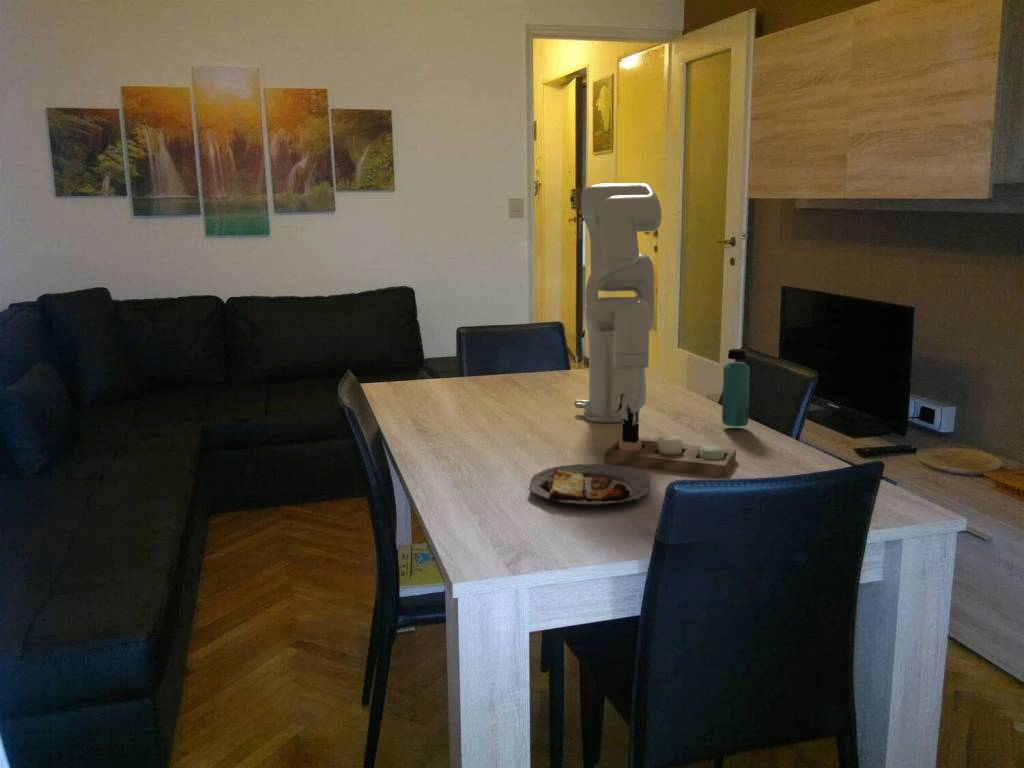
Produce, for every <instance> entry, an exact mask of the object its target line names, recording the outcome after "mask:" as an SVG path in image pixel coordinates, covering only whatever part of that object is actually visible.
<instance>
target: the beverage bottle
mask: <svg viewBox="0 0 1024 768" xmlns="http://www.w3.org/2000/svg"><path fill="white" fill-rule="evenodd" d="M727 359H729V360H745V359H746V350H745V349H741V348H731V349H729V350H728V354H727ZM722 369H723V373H722V375H723V378H722V379H723V380H722V381H723V382H722V383H723V384H722V394H721V395H722V399H721V401H722V408H721V421H722V424H723V425H725V426H729V427H745V426H747V425H748V424H749V421H750V420H749V417H750V414H749V410H750V409H749V408H750V406H749V405H750V371H751V370H750V366H749V365H748V364H747V363H745V362H742V361H741V362H740V361H730V362H728V363H726V364H725V365H724V366H723V368H722Z"/></svg>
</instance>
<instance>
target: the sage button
mask: <svg viewBox="0 0 1024 768" xmlns="http://www.w3.org/2000/svg"><path fill="white" fill-rule="evenodd" d="M724 449H725V448H724ZM724 449H723V447H721V446H717V445H704V447H701V448H700V458H701V459H710V460H720V461H723V460H724Z"/></svg>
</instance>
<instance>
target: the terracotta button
mask: <svg viewBox="0 0 1024 768" xmlns="http://www.w3.org/2000/svg"><path fill="white" fill-rule="evenodd" d="M641 440H642V439H640V438H639V440H638V441H637V442H636V443H633V442H624V441H623V439H621V438H619V450H626V451H635V452H640V451H641V450H642V441H641Z"/></svg>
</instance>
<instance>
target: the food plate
mask: <svg viewBox="0 0 1024 768" xmlns="http://www.w3.org/2000/svg"><path fill="white" fill-rule="evenodd" d="M585 478H591V480H590V483H591V488H590V491H588V490H589V489H588V487H587V485H586V482H585V481H586V480H585ZM613 480H614V481H616V482H617V481H618V482H617V483H615V484H614V487H613V486H612V487H609V485H610V484H611V482H613ZM619 482H620V483H619ZM627 486H628V488H629V489H628V488H627ZM649 486H650V477H649V476H648V475H647V474H645V473H641V472H640V471H635V470H634V469H630V468H626V467H622V466H619V465H612V464H602V463H576V464H566V465H559V466H553V467H550V468H545V469H543V470H542V471H540V472H537V473H535V474H533V476H532V478H531V480H530V483H529V486H528V490H529V492H530V493H531V494H532V495H533V496H535V497H536V496H537V497H539V498H541V499H543V500H546V501H549V502H555V503H557V504H568V505H569V504H570V505H583V506H584V505H585V506H590V507H593V506H597V507H598V506H608V505H609V506H610V505H615V504H628V503H632V502H636V501H639V500H641V497H642V498H645V497H646V496H647V495H648V494H649V490H650V489H649ZM630 489H631V493H630Z"/></svg>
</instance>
